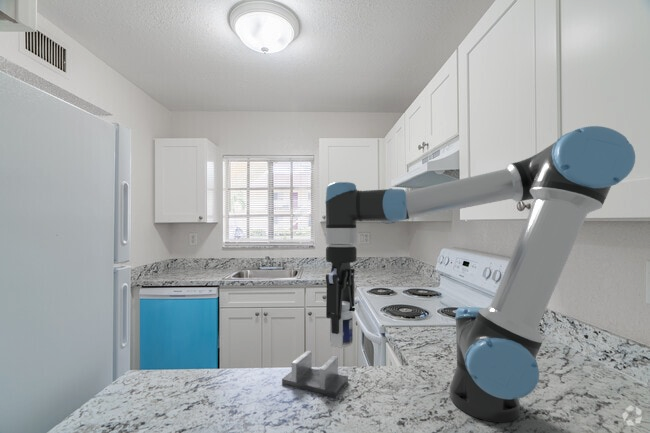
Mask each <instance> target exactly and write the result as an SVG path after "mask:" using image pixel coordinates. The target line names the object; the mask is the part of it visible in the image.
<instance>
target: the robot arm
mask: <svg viewBox="0 0 650 433" xmlns="http://www.w3.org/2000/svg"><path fill="white" fill-rule="evenodd" d="M635 152H636V151H635V149H634V146H633V145H632V143H630V142H629V140H628V139H627V137H626V136H624V134H622V133H621V132H619V131H617V130H615V129H613V128H609V127H606V126H599V125H591V126H584V127H580V128H577V129H575V130H572V131H570V132H567V133H565V134H564V135H561V136H560V137H559V138H558V139H557V140H556V141H555V142H553V143H552V144H551V145H549V146H548V147H546V148H544V149H543V150H541V151H540V152H538V153H536V154H534V155H532V156H529V157H527V158H526V159H522V160H519V161H516V162H513V163H512V162H511V163H509V164H507V166H505V168H504V169H500V170H496V171H491V172H486V173H483V174H482V173H481V174H477V175H474V176H469V177H464V178H461V179H460V178H459V179H456V180H452V181H446V182H441V183H438V184H435V185H434V184H433V185H430V186H429V185H428V186H425V187H424V186H423V187H420V188H415V189H412V190H407V191H406V190H404V189H401V188H388V189H387V188H386V189H384V188H383V189H372V190H370V189H369V190H358V189H357V185H356V183H354V182H348V181H344V182H343V181H340V182H339V181H338V182H332V183H329V184H328V185H327V186H326V192H325V233H324V236H325V243H326V245H328V246H327V247H326V248H325V260H326V262H328V263H331V268H330V269H331V270H330V273H326V274H325V281H326V282H325V283H326V300H325V301H326V304H325V305H326V306H325V307H326V308H325V309H326V311H325V312H326V315H325V316H326V318H327V319H330V318H331V342H330V347H332V348H338V349H342V348H344V347H343V318H341V311H342V301H347V302H349V303H350V309H349V311H350V312H355V310H356V307H355V271H356V270H355V268H352V267H351V263H356V261H357V256H358V255H357V247H356V245H357V243H358V242H357V222H381V224H382V223H383V224H386V225H389V224H390V225H391V224H394V223H396V222H400V221H405V220H411V219H414V218H421V217H424V216H425V217H426V216H430V215H434V214H441V213H445V212H450V211H456V210H461V209H466V208H471V207H475V206H476V207H478V206H481V205H485V204H492V203H496V202H501V201H507V200H513V201H515V202H516V203H517V202H518V203H519V202H522V201H523V202H524V201H528V200H529V201H530V200H533V204H532V206H531V208H530V211H529V213H528V216H527V219H526V221H525V223H524V225H523V228H522V230H521V232H520V235H519V237H518V239H517V241H516V243H515V247H514V249H513V251H512V254H511V256H510V258H509V261H508V263H507V265H506V268H505V270H504V272H503V275H502V277H501V279H500V282H499V284H498V286H497V289H496V292H495V293H494V296H493V299H492V300H491V303H490V305H489V306H487V307H477V306H460V307H458V308H457V309H456V311H455V317H454V320H455V326H456V327H455V329H456V330H455V332H456V333H455V334H456V336H455V339H456V343H455V344H456V368H455V370H454V374H453V377H452V379H451V383H450V385H449V398H450V400H451V402H452V404H454V405H455V406H456V407H457V408H458V409H459V410H461V411H462V412H464V413H465V414H467V415H470V416H472V417H475V418H476V419H480V420H483V421H488V422H492V423H493V422H494V423H510V422H514V421H516V420H518V419H519V417H520V416H521V404H520V398H524V397H526V396H528V395H529V394H531V393H532V392H533V391H534V390H535V389H536V387H537V386H538V383H539V380H540V368H539V364H538V361H536V359H537V355H538V354H539V352H540V350H541V347H542V345H543V342H544V338H543V337H542V335H541V333H540V331H539V325H540V324H541V321H542V319H543V317H544V314H545V311H546V309H547V307H548V304H549V303H550V300H551V299H552V296H553V293H554V292H555V288H556V286H557V285H558V282H559V280H560V277H561V275H562V273H563V270H564V268H565V266H566V264H567V262H568V259H569V256H570V254H571V252H572V250H573V248H574V246H575V243H576V241H577V238H578V236H579V234H580V232H581V229H582V227H583V225H584V222H585V221H586V218H587V215H589V214H590V213H591V212H595V211H598V210H601V209H602V207H603V205H604V202H605V201H606V199H607V198H608V194H609V192H610V190H611V188H612V186H615V185H618V184H619V183H621V182H622V181H623V180H625V178H627V177H628V176H629V175H630V173H632V171H633V169H634V166H635V163H636V153H635Z"/></svg>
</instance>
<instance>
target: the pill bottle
mask: <svg viewBox="0 0 650 433" xmlns="http://www.w3.org/2000/svg"><path fill="white" fill-rule="evenodd" d="M349 309H350V303H349V302H347V301H342V311H341V318H343V347H342V348H348V347H350V346H352V345H353V340H354V339H353V336H354V335H353V332H354V331H353V330H354V329H353V317H354V316H353V312H352V311H349ZM329 320H330V327H329V328H330V332H329V336H330V337H329V338H330V340H329V341H330V343H331V318H329Z"/></svg>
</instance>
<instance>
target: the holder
mask: <svg viewBox="0 0 650 433" xmlns="http://www.w3.org/2000/svg"><path fill="white" fill-rule="evenodd" d="M312 353H313V352H312V350H306V351H304V352H303V353H301V355H300V356H298V357H296V359H294V360H293V361H292V362H291V371H290V372H289V373H287V374H286V375H285V376H284V377H282V380H281V385H282V386H286V387H291V388H292V389H293V388H294V389H298V390H303V391H306V392H310V393H313V394H316V395H321V396H325V397H329V398H332V399H336V398H338V396H339V395H340V393H341V392H342V390H343V389H344V388H345V387H346V385H347V383H348V382H349V381H348V380H349V376H347V375H342V374H339V356H337V355H332V356H331V357H330V358H329V359H328V360H327V361H326V362H325V363H324V364H323V365H322V366H321V367H319V369H316V368H312V363H313V361H312Z"/></svg>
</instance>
